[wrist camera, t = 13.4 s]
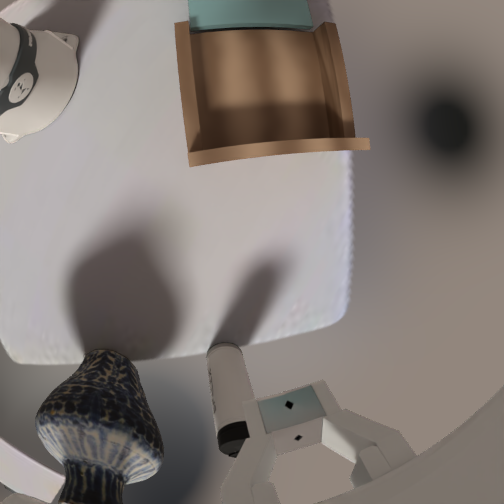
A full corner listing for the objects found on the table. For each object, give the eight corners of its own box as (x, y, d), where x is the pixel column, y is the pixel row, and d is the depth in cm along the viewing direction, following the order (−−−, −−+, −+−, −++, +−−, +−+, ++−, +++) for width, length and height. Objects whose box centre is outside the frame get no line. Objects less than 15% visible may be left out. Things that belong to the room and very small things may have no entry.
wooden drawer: (191, 165, 34) (189, 167, 25) (177, 45, 28) (173, 11, 18) (331, 149, 37) (370, 149, 27) (314, 40, 30) (346, 15, 21)
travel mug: (250, 357, 46) (280, 450, 27) (219, 373, 46) (236, 466, 27) (231, 335, 44) (257, 434, 25) (199, 352, 44) (209, 452, 25)
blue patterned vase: (78, 306, 37) (1, 462, 9) (182, 354, 43) (192, 525, 15) (62, 379, 40) (25, 500, 13) (146, 415, 47) (144, 540, 19)
